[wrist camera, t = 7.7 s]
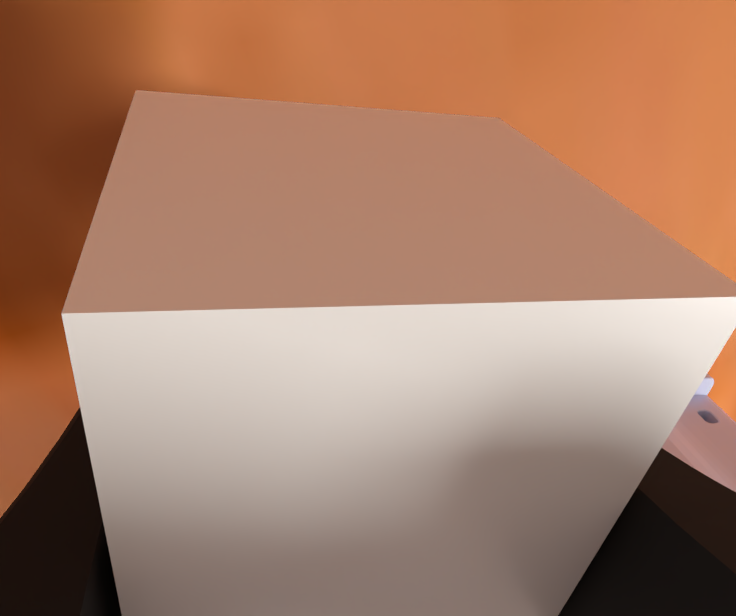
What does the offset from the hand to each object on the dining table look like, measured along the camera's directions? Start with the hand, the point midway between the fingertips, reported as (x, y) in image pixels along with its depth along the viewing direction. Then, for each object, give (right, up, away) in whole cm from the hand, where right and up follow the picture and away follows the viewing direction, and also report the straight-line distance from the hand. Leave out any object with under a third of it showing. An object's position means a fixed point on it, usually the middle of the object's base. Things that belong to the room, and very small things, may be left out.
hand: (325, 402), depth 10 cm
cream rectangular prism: (0, +1, +1) cm, 2 cm away
